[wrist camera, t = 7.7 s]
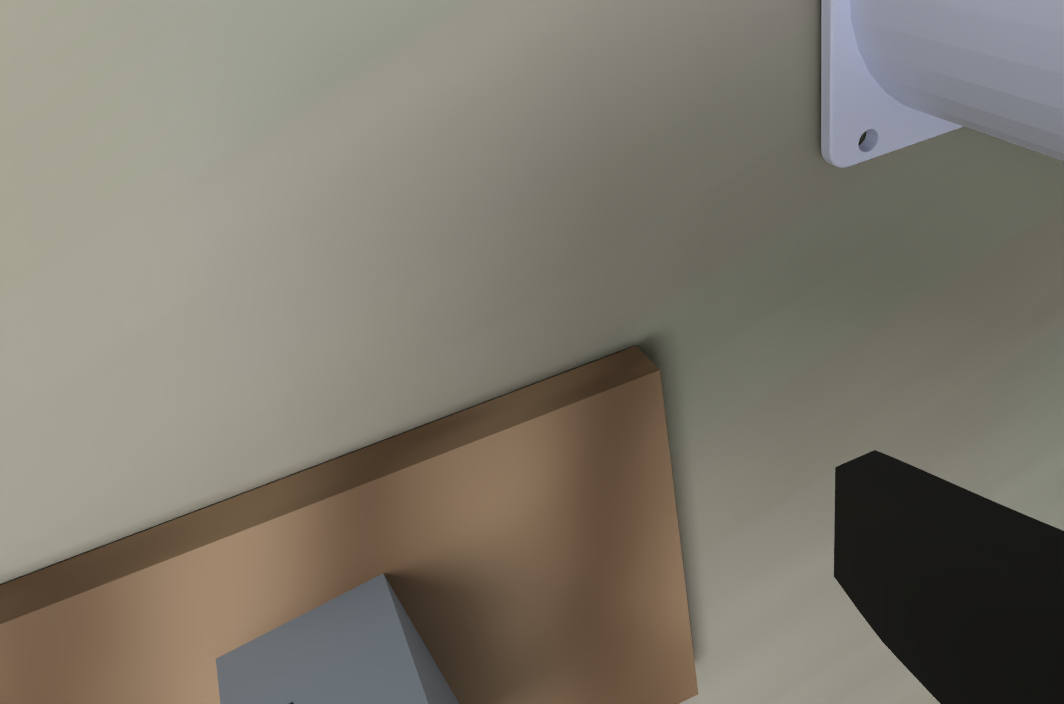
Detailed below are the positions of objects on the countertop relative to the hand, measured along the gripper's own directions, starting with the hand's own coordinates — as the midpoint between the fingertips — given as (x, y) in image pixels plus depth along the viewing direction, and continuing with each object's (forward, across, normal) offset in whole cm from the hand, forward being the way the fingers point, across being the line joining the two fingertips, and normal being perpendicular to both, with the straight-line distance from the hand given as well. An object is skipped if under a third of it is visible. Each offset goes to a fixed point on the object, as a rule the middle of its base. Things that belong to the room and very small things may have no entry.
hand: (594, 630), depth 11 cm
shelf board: (+9, +3, +9) cm, 13 cm away
